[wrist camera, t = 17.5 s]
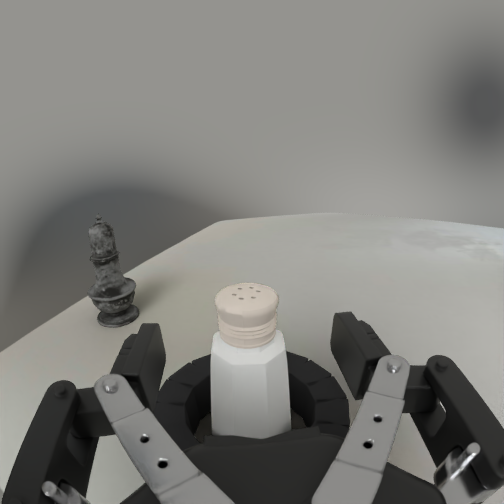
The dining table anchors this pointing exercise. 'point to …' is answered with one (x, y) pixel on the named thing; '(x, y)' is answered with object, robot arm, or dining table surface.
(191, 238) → the dining table surface
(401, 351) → the dining table surface
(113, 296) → the grey chess piece
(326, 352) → the dining table surface
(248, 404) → the pepper shaker
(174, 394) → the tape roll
